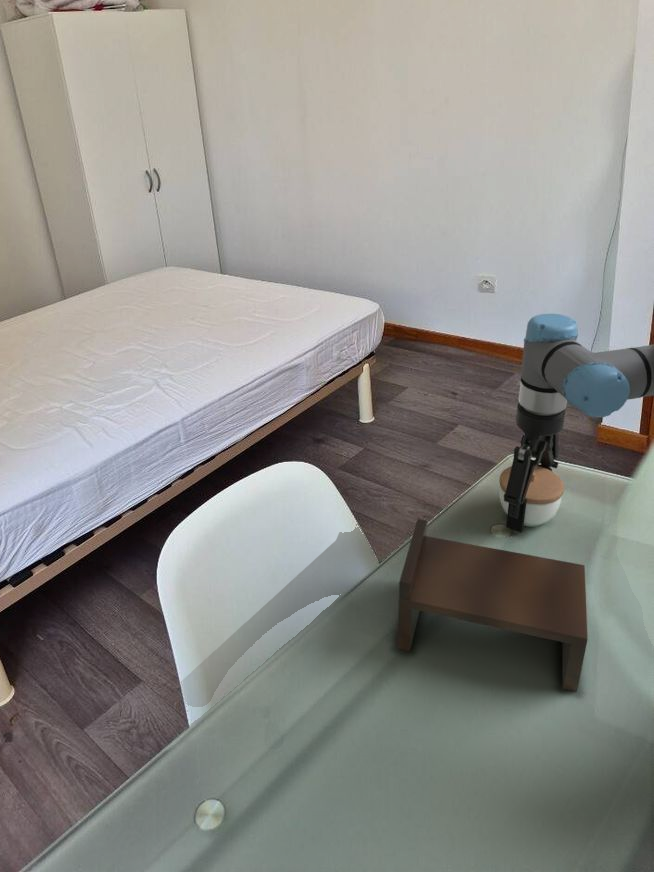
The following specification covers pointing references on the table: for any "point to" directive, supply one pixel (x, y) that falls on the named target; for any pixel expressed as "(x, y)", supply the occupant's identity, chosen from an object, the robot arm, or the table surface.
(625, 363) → the robot arm
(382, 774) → the table surface
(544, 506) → the trinket box
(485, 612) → the shelf
